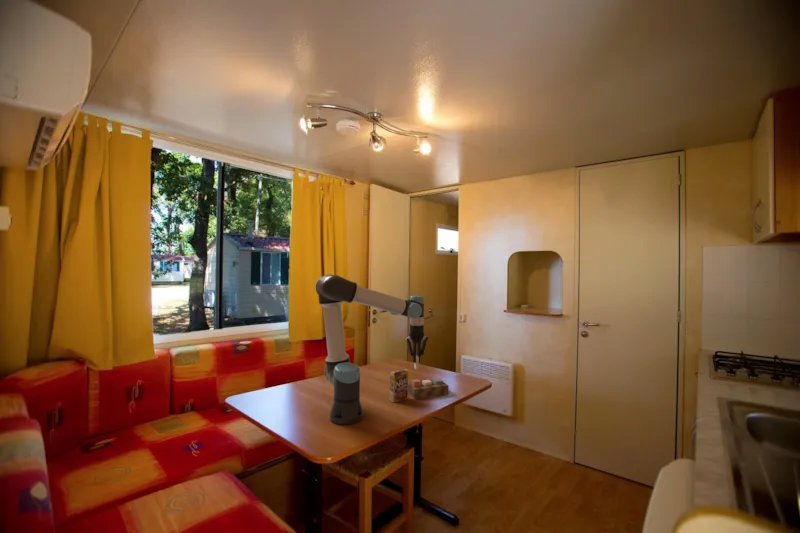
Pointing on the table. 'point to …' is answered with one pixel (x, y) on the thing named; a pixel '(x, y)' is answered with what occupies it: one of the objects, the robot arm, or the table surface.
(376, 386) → the table surface
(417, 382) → the brick key
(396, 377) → the candy box
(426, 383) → the ivory key
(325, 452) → the table surface
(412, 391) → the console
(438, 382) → the slate key
